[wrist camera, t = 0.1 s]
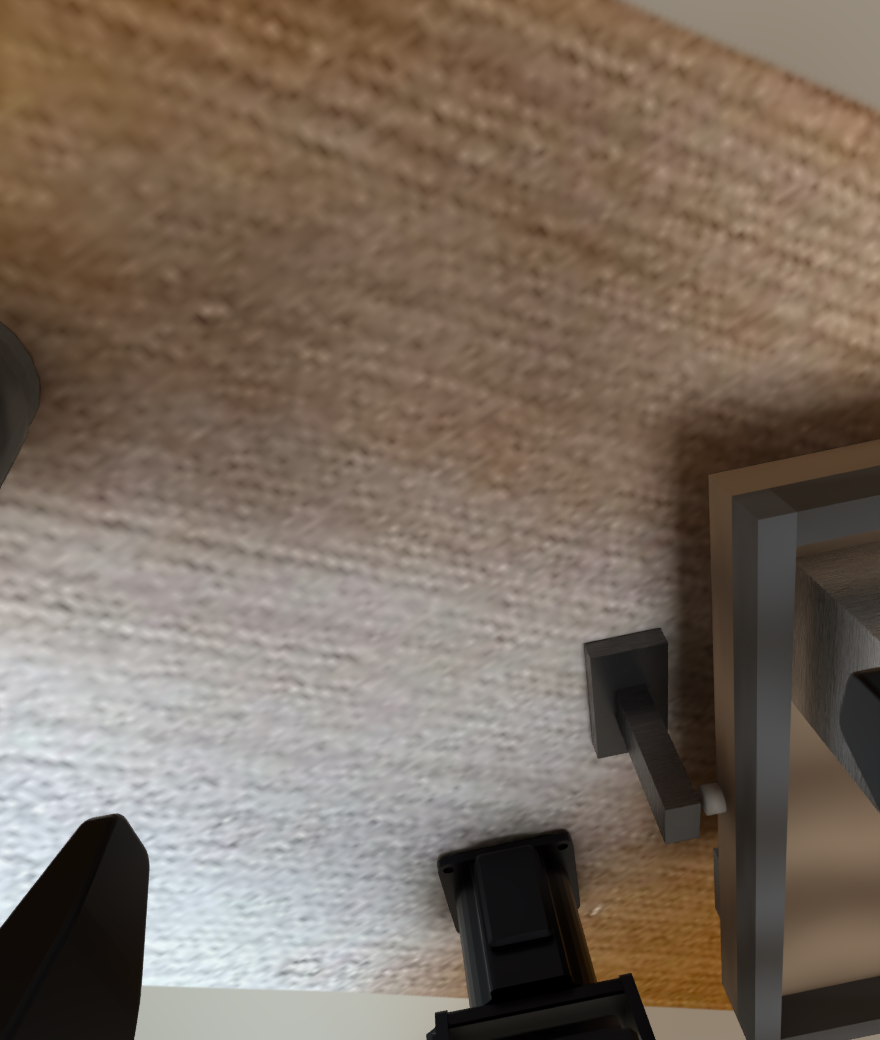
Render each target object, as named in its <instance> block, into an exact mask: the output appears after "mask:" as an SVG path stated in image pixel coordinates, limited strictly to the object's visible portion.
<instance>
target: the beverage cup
mask: <svg viewBox="0 0 880 1040" xmlns="http://www.w3.org/2000/svg"><path fill="white" fill-rule="evenodd" d="M39 397H40V381H39V378H38V375H37V372H36V369H35V366H34V363H33V360H32V358H31V357H30V355H29V354H28V352H27V351H26V349H25V348H24V347H23V345H22V344H21V342H20V341H19V340H18V338H17V337H16V335H15V334H14V333H12V332H11V331H10V330H9V329H8V328H7V327H5V326H4V325H3V324H2V323H1V322H0V488H1V486H2V484H3V482H4V480H5V479H6V477H7V475H8V473H9V471H10V469H11V467H12V465H13V463H14V461H15V459H16V457H17V455H18V453H19V451H20V449H21V447H22V445H23V443H24V440H25V438H26V436H27V434H28V427H29V426H30V424H31V422H32V420H33V418H34V416H35V413H36V411H37V409H38V407H39Z"/></svg>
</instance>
